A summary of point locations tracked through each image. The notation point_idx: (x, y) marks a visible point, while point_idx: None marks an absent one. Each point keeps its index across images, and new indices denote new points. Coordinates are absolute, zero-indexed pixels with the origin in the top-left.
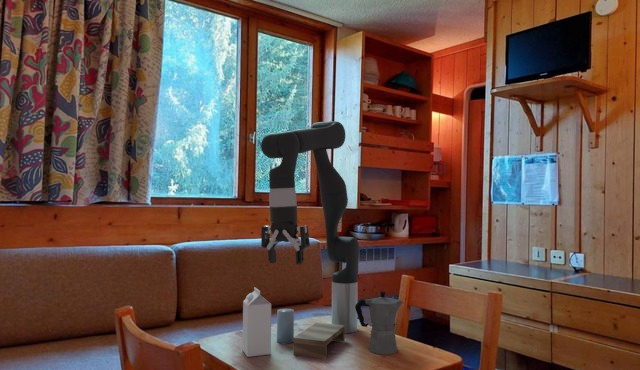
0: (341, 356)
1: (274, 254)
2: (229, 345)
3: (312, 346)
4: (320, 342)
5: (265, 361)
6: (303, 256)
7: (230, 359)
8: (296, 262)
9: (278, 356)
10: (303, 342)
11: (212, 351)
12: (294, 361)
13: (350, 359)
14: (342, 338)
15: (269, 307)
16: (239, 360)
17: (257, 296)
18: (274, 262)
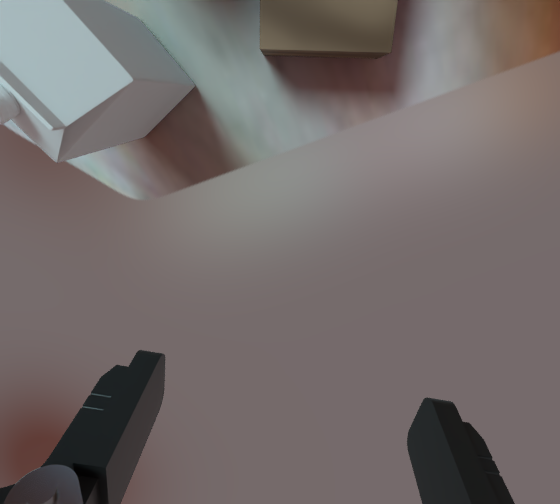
0: (428, 10)
1: (133, 435)
2: None
3: (336, 53)
4: (371, 52)
5: (212, 150)
6: (498, 473)
7: (111, 169)
8: (414, 457)
9: (226, 92)
10: (301, 51)
11: (11, 120)
12: (292, 120)
13: (462, 33)
14: None
15: (134, 88)
16: (139, 168)
17: (58, 132)
18: (162, 372)
